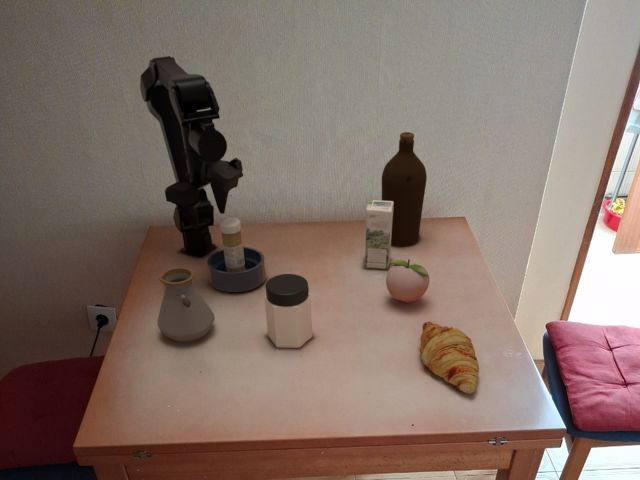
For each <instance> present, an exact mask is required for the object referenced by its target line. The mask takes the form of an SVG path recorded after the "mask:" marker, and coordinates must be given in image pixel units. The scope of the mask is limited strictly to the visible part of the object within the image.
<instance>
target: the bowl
mask: <svg viewBox="0 0 640 480" xmlns="http://www.w3.org/2000/svg"><path fill="white" fill-rule="evenodd" d="M243 251H244V260H245V271H241V272H227V269H226V264H225V257H224V250H223V248H222V249H220V250H215V252H213V253H212V254H210V255H209V257H208V258H207V260H206V267H207V272H208V279H209V283H210V284H211V286H212V287H213V288H215V289H216V290H219V291H222V292H227V293H243V292H247V291H251V290H253V289H256V288H258V287H260V286H261V285H262V284H263V283H265V280H266V279H267V275H266V266H265V265H266V263H265V255H264V254H263V252H261V251H260V250H258V249H256V248H253V247H249V246H243Z"/></svg>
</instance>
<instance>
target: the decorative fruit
mask: <svg viewBox="0 0 640 480" xmlns="http://www.w3.org/2000/svg"><path fill="white" fill-rule="evenodd" d="M410 262H411V260H410V259H408V260H407V261H406V260H404V259H395V260H390V262H389V265H391V267H390V268H388V271H387V273H386V278H385V284H386V289H387V291H388V293H389V294H390V295H391V297H393V298H394V299H395V300H398V301H403V302H404V303H410V302H411V303H412V302H415V301H417V300H419V299H420V298H422V297H423V296H424V295H425V294H426V292H427V291H428V289H429V286H430V275H429V272H428V271H427V269H426V268H425V267H424V266H422V265H421V264H418V263H410Z"/></svg>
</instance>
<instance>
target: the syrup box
mask: <svg viewBox="0 0 640 480" xmlns="http://www.w3.org/2000/svg"><path fill="white" fill-rule="evenodd" d="M393 206H394V202H393V201H382V200H380V199H379V200H377V199H369V200H368V202H367V205H366V211H365V243H364V244H365V246H364V269H373V270H385V271H386V270H388V271H389V267H390V264H389V263H390V262H391V254H392V253H391V251H392V249H391V247H392V245H391V234H392V221H393Z"/></svg>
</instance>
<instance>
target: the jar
mask: <svg viewBox="0 0 640 480" xmlns="http://www.w3.org/2000/svg"><path fill="white" fill-rule="evenodd" d="M264 288H265V294H264V305H265V306H264V307H265V315H266V317H265V318H266V328H267V336H268V338H269V339H270V340H271V341H272V344H273V345H274V346H275V347H276V348H286V349H287V348H290V349H291V348H294V349H300V348H301V347H302V346H304V345H305V344H306V343H307V342H309V340H310V339H312V338H313V320H312V298H311V297H312V296H311V295H310V294H309V293H310V290H309V289H310V287H309V282H308V280H307V279H306V278H305V277H303V276H301V275H299V274H294V273H282V274H278V275H274V276H273V277H271V278H269V279H268V280H267V281H266V282H265V286H264Z"/></svg>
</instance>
